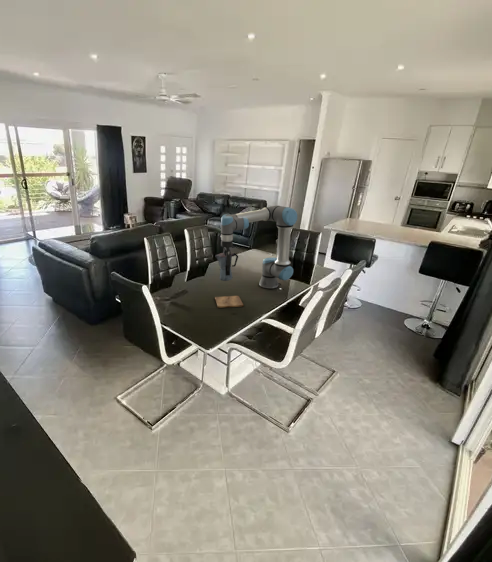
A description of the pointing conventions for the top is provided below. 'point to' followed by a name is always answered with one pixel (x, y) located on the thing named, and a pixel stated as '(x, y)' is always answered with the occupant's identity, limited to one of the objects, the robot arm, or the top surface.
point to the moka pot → (222, 264)
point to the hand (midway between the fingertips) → (226, 273)
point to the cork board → (228, 301)
